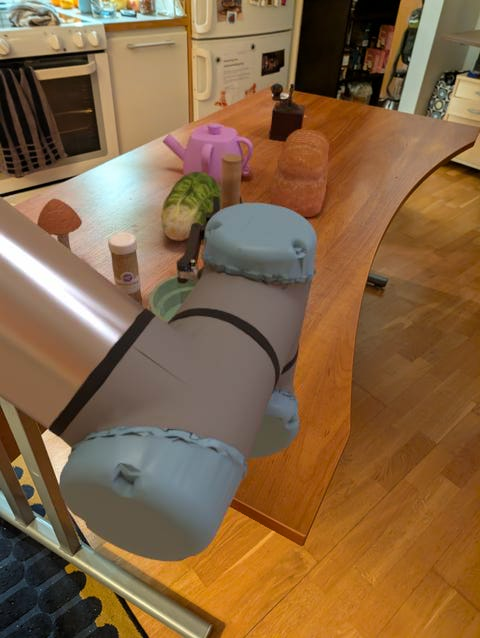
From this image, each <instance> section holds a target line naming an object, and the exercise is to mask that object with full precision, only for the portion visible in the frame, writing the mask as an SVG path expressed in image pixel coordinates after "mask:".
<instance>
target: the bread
mask: <svg viewBox="0 0 480 638" xmlns="http://www.w3.org/2000/svg"><path fill="white" fill-rule="evenodd" d="M329 151H330V141H329V140H328V139H327V136H326V135H325V134H324V133H323V132H321V131H319V130H316V129H308V128H302V129H299V130H296V131H294V132H293V133H291V134H290V135H289V136H288V138H287V140H286V141H284V143H283V145H282V148H281V152H280V156H279V159H278V162H277V167H276V169H275V171H274V175H273V178H272V182H271V186H270V192H269V193H270V199H269V200H270V204H271V205H276V206H281V207H284V208H287V209H290V210H292V211H294V212H296V213H298V214H299V215H301V216H303V217H304V218H310V217H311V218H312V217H315V216H316V215H317V214H319V213H320V212H321V210H322V207H323V204H324V200H325V196H326V193H327V192H326V191H327V184H328V174H329V168H330V162H329Z"/></svg>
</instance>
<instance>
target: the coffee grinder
mask: <svg viewBox="0 0 480 638" xmlns="http://www.w3.org/2000/svg"><path fill="white" fill-rule="evenodd" d="M294 89H295V84H294V83H291V84H290V88H289V94H288V96H287V98H282V97H281V94H282V93H283V92H284V86H283V85H282V84H280V83H278V82H277V83H274V84H272V85H271V86H270V91H271V93H272V96H271V99H272V101H275V102H276V103H275V104H274V106H273V108H272V111H271V120H270V121H271V122H270V130H269V131H268V132H269V139H270V140H274V141H281V142H285V141H286V140H287V138H288V136H289V135H290V134H291V133H293V132H294V131H296V130H299V129H303V125H304V120H305V119H304V118H305V112H306V105H305V104H298V103H297V102H295V101H293V95H294V92H295V90H294Z"/></svg>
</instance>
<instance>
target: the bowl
mask: <svg viewBox="0 0 480 638" xmlns="http://www.w3.org/2000/svg"><path fill="white" fill-rule="evenodd" d="M196 284H197V282H195V281H191V280H189V281H188V282H187V283H184V284H181V283H178V281H177V274H175V275H173V276H171V277H170V276H169V277H168V278H166V279H164V280H162V281H161V282H160V283H158V284H157V285H155V286H154V288H153V289H152V291H151V293H150V294H149V299H148V300H149V301H148V305H149V306H148V308H149V309H148V310H149V311H151V312H152V313H153V314H155V316H157V317H159V318H160V319H162V320H163V321H165V322H166V323H168V322H169V321H170V320H171V319H172V317H173V316H174V314H175V313H176V312H177V310H178V309H179V307H180V306H181V305H182V303H183V302H184V300H185V299H186V298H187V296H188V295H189V293H190V292H191V291H192V289H193V288H194V286H195V285H196Z"/></svg>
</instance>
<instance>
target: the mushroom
mask: <svg viewBox="0 0 480 638" xmlns="http://www.w3.org/2000/svg"><path fill="white" fill-rule="evenodd" d="M82 223H83V221H82V219H81V217H80V216H79V214H78V213H77V212H76V211H75V210H74V209H73V208H72V206H70V205H69V204H67V203H66V202H65V201H62V200H61V199H58V198H52V199H50V200H49V201H48V202H47V203H46V204H45V205H44V206H43V207H42V209H41V210H40V212H39V215H38V218H37V223H36V224H37V225H38V226H39V227H41V228H42V229H43V230H45V231H46V232H47V233H48V234H50V235H51V236H52V235H53V236H56V237H57V240H58V241H59V242H60V243H61V244H63V245H64V246H65V247H67V248H68V249H69V250H71V251H72V248H71V244H70V236H69V234H70V233H73V232H75V231H76V230H78V229H79V228H80V227H81V226H82Z"/></svg>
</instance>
